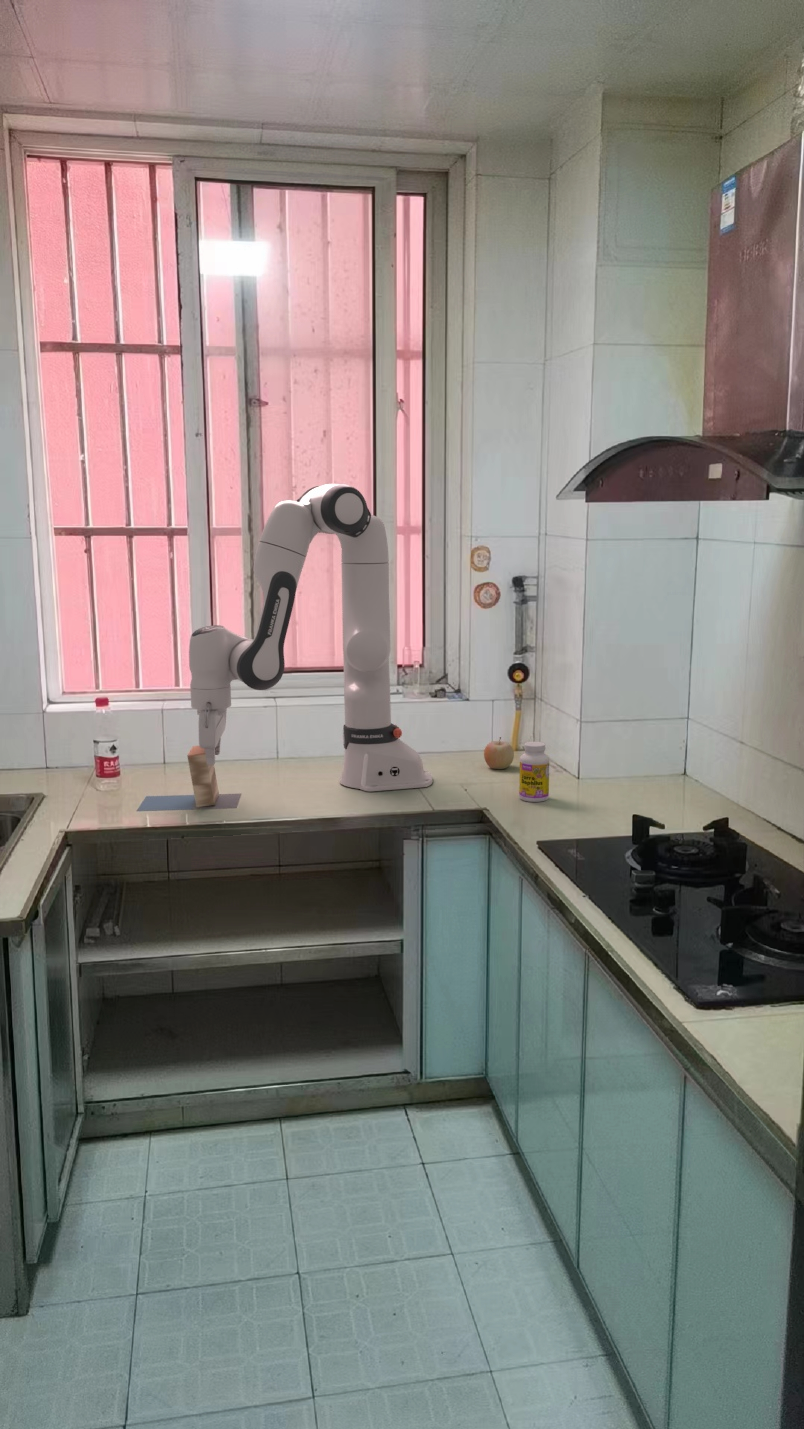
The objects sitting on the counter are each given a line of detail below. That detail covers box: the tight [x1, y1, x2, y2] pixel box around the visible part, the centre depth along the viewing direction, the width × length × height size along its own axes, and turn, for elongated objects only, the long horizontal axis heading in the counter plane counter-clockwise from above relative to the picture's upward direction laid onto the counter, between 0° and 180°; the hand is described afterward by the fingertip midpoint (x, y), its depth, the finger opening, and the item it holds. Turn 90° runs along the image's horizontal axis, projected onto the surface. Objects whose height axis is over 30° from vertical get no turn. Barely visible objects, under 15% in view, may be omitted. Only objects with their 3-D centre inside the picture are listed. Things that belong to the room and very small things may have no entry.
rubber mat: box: [136, 793, 243, 812], centre depth 242 cm, size 22×12×1 cm, turn 93°
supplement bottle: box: [518, 741, 550, 803], centre depth 241 cm, size 7×7×13 cm
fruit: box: [483, 736, 515, 770], centre depth 270 cm, size 8×7×8 cm
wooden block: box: [187, 745, 220, 807], centre depth 241 cm, size 4×9×12 cm, turn 3°
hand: (213, 759), depth 240 cm, fingers open, 8 cm apart
